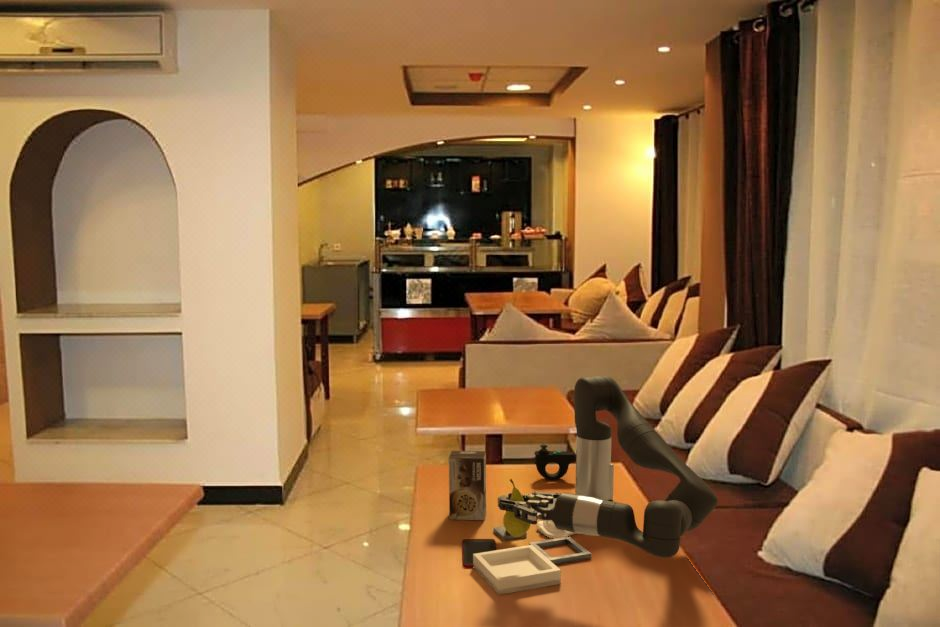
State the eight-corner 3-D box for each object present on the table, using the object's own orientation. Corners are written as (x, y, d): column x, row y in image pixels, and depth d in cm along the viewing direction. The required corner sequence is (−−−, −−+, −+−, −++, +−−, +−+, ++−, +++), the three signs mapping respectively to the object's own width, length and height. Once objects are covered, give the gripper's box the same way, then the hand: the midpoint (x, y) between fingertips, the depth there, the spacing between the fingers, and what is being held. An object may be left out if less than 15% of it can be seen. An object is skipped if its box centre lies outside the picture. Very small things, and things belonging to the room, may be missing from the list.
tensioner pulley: (516, 528, 202) (516, 492, 201) (526, 537, 197) (527, 500, 196) (493, 531, 200) (493, 495, 199) (503, 540, 195) (503, 503, 194)
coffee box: (486, 511, 213) (487, 450, 211) (484, 521, 207) (484, 458, 205) (451, 510, 214) (451, 449, 212) (448, 519, 208) (448, 457, 206)
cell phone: (495, 542, 195) (495, 538, 194) (498, 569, 180) (498, 565, 180) (462, 542, 194) (462, 538, 194) (463, 569, 180) (463, 565, 180)
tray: (531, 557, 185) (531, 544, 185) (560, 583, 172) (560, 569, 172) (473, 567, 180) (473, 553, 180) (498, 594, 167) (498, 580, 167)
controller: (533, 476, 242) (533, 443, 240) (575, 476, 242) (576, 443, 240) (534, 481, 237) (534, 447, 236) (577, 481, 237) (578, 447, 236)
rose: (581, 510, 203) (573, 524, 194) (581, 528, 203) (572, 543, 194) (542, 505, 206) (531, 519, 197) (541, 523, 207) (531, 537, 198)
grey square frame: (569, 541, 194) (569, 536, 194) (591, 558, 185) (591, 553, 185) (528, 547, 191) (528, 542, 191) (549, 565, 181) (549, 560, 181)
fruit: (527, 543, 171) (527, 486, 170) (500, 539, 173) (499, 484, 172) (533, 532, 177) (533, 478, 175) (507, 529, 178) (507, 475, 177)
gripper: (567, 544, 162) (489, 529, 170) (593, 520, 174) (518, 507, 182) (568, 507, 161) (488, 493, 169) (593, 486, 173) (518, 474, 181)
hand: (504, 500), depth 175 cm, fingers closed on fruit, 3 cm apart
